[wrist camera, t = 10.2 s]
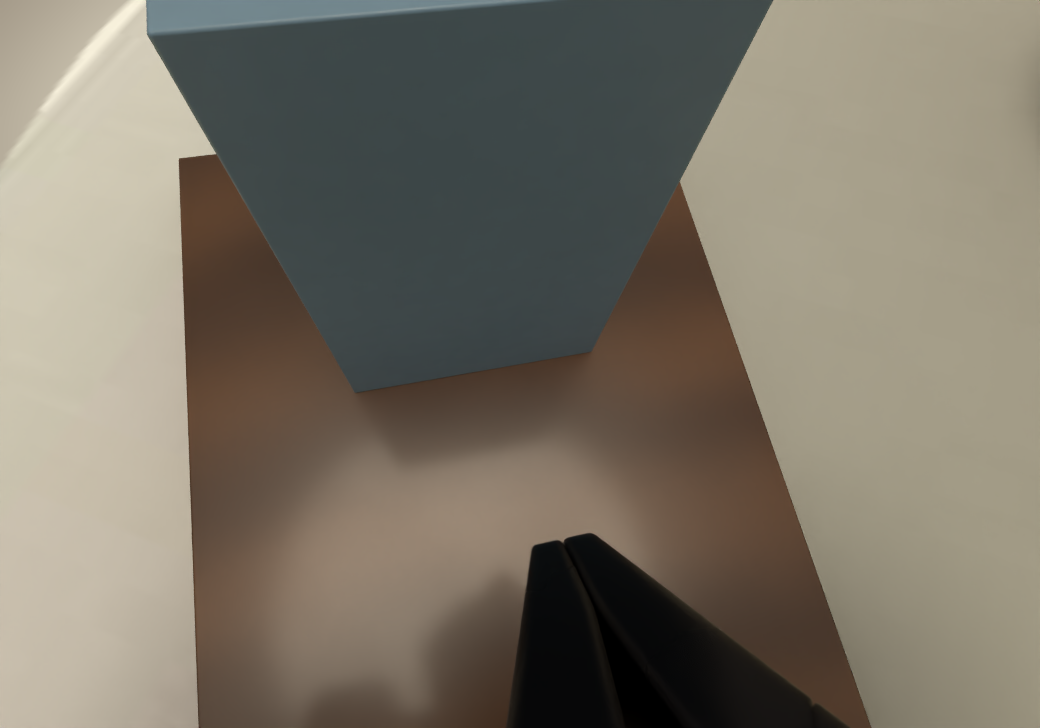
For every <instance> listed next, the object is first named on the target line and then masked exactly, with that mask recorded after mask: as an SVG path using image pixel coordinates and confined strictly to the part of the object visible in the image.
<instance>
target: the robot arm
mask: <svg viewBox="0 0 1040 728" xmlns="http://www.w3.org/2000/svg"><path fill="white" fill-rule="evenodd" d="M506 728H851V727H850V726H848V725H847V724H846V723H844V722H843V721H842V720H840V719H839V718H838V717H836V716H835V715H834V714H832V713H831V712H830V711H828V710H827V709H826V708H824V707H823V706H822V705H820V704H819V703H814V704H812V699H811V697H809V696H808V695H807V694H805V693H804V692H803V691H802V690H800V689H799V688H798V687H796V686H795V685H794V684H792V683H791V682H790V681H788V680H787V679H786V678H784V677H783V676H782V675H780V674H779V673H778V672H776V671H775V670H774V669H772V668H771V667H770V666H768V665H767V664H766V663H765V662H763V661H762V660H761V659H759V658H758V657H757V656H755V655H754V654H753V653H751V652H750V651H749V650H747V649H746V648H745V647H743V646H742V645H741V644H739V643H738V642H737V641H735V640H734V639H733V638H731V637H730V636H729V635H728V634H726V633H725V632H724V631H722V630H721V629H720V628H718V627H717V626H716V625H714V624H713V623H712V622H710V621H709V620H708V619H706V618H705V617H704V616H702V615H701V614H700V613H698V612H697V611H696V610H694V609H693V608H692V607H691V606H689V605H688V604H687V603H685V602H684V601H683V600H681V599H680V598H679V597H677V596H676V595H675V594H673V593H672V592H671V591H669V590H668V589H667V588H665V587H664V586H663V585H661V584H660V583H659V582H657V581H656V580H655V579H654V578H652V577H651V576H650V575H648V574H647V573H646V572H644V571H643V570H642V569H640V568H639V567H638V566H636V565H635V564H634V563H632V562H631V561H630V560H628V559H627V558H626V557H624V556H623V555H622V554H620V553H619V552H618V551H617V550H615V549H614V548H613V547H611V546H610V545H609V544H607V543H606V542H605V541H603V540H602V539H601V538H599V537H598V536H597V535H595V534H593V533H586V534H581V535H576V536H572V537H568V538H566V539H565V540H564V541H563V542H562V541H560V540H554V541H549V542H544V543H540V544H536V545H534V546H533V547H532V549H531V555H530V562H529V569H528V576H527V583H526V590H525V597H524V604H523V611H522V618H521V625H520V632H519V639H518V646H517V653H516V660H515V667H514V674H513V681H512V688H511V695H510V702H509V709H508V715H507V722H506Z"/></svg>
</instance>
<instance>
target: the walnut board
mask: <svg viewBox="0 0 1040 728" xmlns="http://www.w3.org/2000/svg"><path fill="white" fill-rule="evenodd" d="M179 179H180V208H181V236H182V265H183V294H184V322H185V351H186V379H187V408H188V436H189V465H190V493H191V522H192V550H193V579H194V607H195V636H196V664H197V693H198V721H199V728H506V722H507V715H508V709H509V702H510V695H511V688H512V681H513V674H514V667H515V660H516V653H517V646H518V639H519V632H520V625H521V618H522V611H523V604H524V597H525V590H526V583H527V576H528V569H529V562H530V555H531V549H532V547H533V546H534V545H536V544H540V543H544V542H549V541H554V540H560V541H562V542H563V541H564V540H565V539H566V538H568V537H572V536H576V535H581V534H586V533H593V534H595V535H597V536H598V537H599V538H601V539H602V540H603V541H605V542H606V543H607V544H609V545H610V546H611V547H613V548H614V549H615V550H617V551H618V552H619V553H620V554H622V555H623V556H624V557H626V558H627V559H628V560H630V561H631V562H632V563H634V564H635V565H636V566H638V567H639V568H640V569H642V570H643V571H644V572H646V573H647V574H648V575H650V576H651V577H652V578H654V579H655V580H656V581H657V582H659V583H660V584H661V585H663V586H664V587H665V588H667V589H668V590H669V591H671V592H672V593H673V594H675V595H676V596H677V597H679V598H680V599H681V600H683V601H684V602H685V603H687V604H688V605H689V606H691V607H692V608H693V609H694V610H696V611H697V612H698V613H700V614H701V615H702V616H704V617H705V618H706V619H708V620H709V621H710V622H712V623H713V624H714V625H716V626H717V627H718V628H720V629H721V630H722V631H724V632H725V633H726V634H728V635H729V636H730V637H731V638H733V639H734V640H735V641H737V642H738V643H739V644H741V645H742V646H743V647H745V648H746V649H747V650H749V651H750V652H751V653H753V654H754V655H755V656H757V657H758V658H759V659H761V660H762V661H763V662H765V663H766V664H767V665H768V666H770V667H771V668H772V669H774V670H775V671H776V672H778V673H779V674H780V675H782V676H783V677H784V678H786V679H787V680H788V681H790V682H791V683H792V684H794V685H795V686H796V687H798V688H799V689H800V690H802V691H803V692H804V693H805V694H807V695H808V696H809V697H811V699H812V704H814V703H819V704H820V705H822V706H823V707H824V708H826V709H827V710H828V711H830V712H831V713H832V714H834V715H835V716H836V717H838V718H839V719H840V720H842V721H843V722H844V723H846V724H847V725H848V726H850V727H851V728H871V725H870V723H869V720H868V717H867V714H866V711H865V708H864V706H863V703H862V700H861V697H860V694H859V691H858V688H857V686H856V683H855V680H854V677H853V674H852V671H851V669H850V666H849V663H848V660H847V657H846V654H845V651H844V649H843V646H842V643H841V640H840V637H839V634H838V632H837V629H836V626H835V623H834V620H833V617H832V614H831V612H830V609H829V606H828V603H827V600H826V597H825V594H824V592H823V589H822V586H821V583H820V580H819V577H818V575H817V572H816V569H815V566H814V563H813V560H812V557H811V555H810V552H809V549H808V546H807V543H806V540H805V538H804V535H803V532H802V529H801V526H800V523H799V520H798V518H797V515H796V512H795V509H794V506H793V503H792V500H791V498H790V495H789V492H788V489H787V486H786V483H785V481H784V478H783V475H782V472H781V469H780V466H779V463H778V461H777V458H776V455H775V452H774V449H773V446H772V444H771V441H770V438H769V435H768V432H767V429H766V426H765V424H764V421H763V418H762V415H761V412H760V409H759V407H758V404H757V401H756V398H755V395H754V392H753V389H752V387H751V384H750V381H749V378H748V375H747V372H746V369H745V367H744V364H743V361H742V358H741V355H740V352H739V350H738V347H737V344H736V341H735V338H734V335H733V332H732V330H731V327H730V324H729V321H728V318H727V315H726V313H725V310H724V307H723V304H722V301H721V298H720V295H719V293H718V290H717V287H716V284H715V281H714V278H713V275H712V273H711V270H710V267H709V264H708V261H707V258H706V256H705V253H704V250H703V247H702V244H701V241H700V238H699V236H698V233H697V230H696V227H695V224H694V221H693V219H692V216H691V213H690V210H689V207H688V204H687V201H686V199H685V196H684V193H683V190H682V187H681V184H680V182H679V183H678V185H677V187H676V189H675V191H674V193H673V195H672V197H671V199H670V201H669V203H668V205H667V206H666V208H665V210H664V212H663V214H662V216H661V218H660V220H659V222H658V224H657V226H656V228H655V230H654V232H653V234H652V235H651V237H650V239H649V241H648V243H647V245H646V247H645V249H644V251H643V253H642V255H641V257H640V259H639V261H638V263H637V264H636V266H635V268H634V270H633V272H632V274H631V276H630V278H629V280H628V282H627V284H626V286H625V288H624V290H623V292H622V293H621V295H620V297H619V299H618V301H617V303H616V305H615V307H614V309H613V311H612V313H611V315H610V317H609V319H608V321H607V323H606V324H605V326H604V328H603V330H602V332H601V334H600V336H599V338H598V340H597V342H596V344H595V346H594V348H593V350H592V351H591V352H587V353H581V354H575V355H570V356H564V357H558V358H552V359H547V360H541V361H535V362H529V363H524V364H518V365H512V366H506V367H501V368H495V369H489V370H483V371H478V372H472V373H466V374H460V375H455V376H449V377H443V378H438V379H432V380H426V381H420V382H415V383H409V384H403V385H397V386H392V387H386V388H380V389H374V390H369V391H363V392H357V393H355V392H354V391H353V389H352V387H351V385H350V384H349V382H348V380H347V378H346V377H345V375H344V373H343V372H342V370H341V368H340V366H339V365H338V363H337V361H336V359H335V358H334V356H333V354H332V353H331V351H330V349H329V347H328V346H327V344H326V342H325V340H324V339H323V337H322V335H321V334H320V332H319V330H318V328H317V327H316V325H315V323H314V321H313V320H312V318H311V316H310V315H309V313H308V311H307V309H306V308H305V306H304V304H303V303H302V301H301V299H300V297H299V296H298V294H297V292H296V290H295V289H294V287H293V285H292V284H291V282H290V280H289V278H288V277H287V275H286V273H285V271H284V270H283V268H282V266H281V265H280V263H279V261H278V259H277V258H276V256H275V254H274V252H273V251H272V249H271V247H270V246H269V244H268V242H267V240H266V239H265V237H264V235H263V233H262V232H261V230H260V228H259V227H258V225H257V223H256V221H255V220H254V218H253V216H252V214H251V213H250V211H249V209H248V208H247V206H246V204H245V202H244V201H243V199H242V197H241V195H240V194H239V192H238V190H237V189H236V187H235V185H234V183H233V182H232V180H231V178H230V176H229V175H228V173H227V171H226V170H225V168H224V166H223V164H222V163H221V161H220V159H219V158H218V156H217V154H214V155H205V156H197V157H188V158H180V159H179Z"/></svg>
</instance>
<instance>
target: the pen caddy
mask: <svg viewBox="0 0 1040 728" xmlns="http://www.w3.org/2000/svg"><path fill="white" fill-rule="evenodd" d="M772 1H773V0H146V7H147V35H148V37H149V38H150V40H151V42H152V44H153V45H154V47H155V49H156V50H157V52H158V54H159V56H160V57H161V59H162V61H163V63H164V64H165V66H166V68H167V69H168V71H169V73H170V75H171V76H172V78H173V80H174V82H175V83H176V85H177V87H178V88H179V90H180V92H181V94H182V95H183V97H184V99H185V101H186V102H187V104H188V106H189V107H190V109H191V111H192V113H193V114H194V116H195V118H196V120H197V121H198V123H199V125H200V126H201V128H202V130H203V132H204V133H205V135H206V137H207V139H208V140H209V142H210V144H211V145H212V147H213V149H214V151H215V152H216V154H217V156H218V158H219V159H220V161H221V163H222V164H223V166H224V168H225V170H226V171H227V173H228V175H229V176H230V178H231V180H232V182H233V183H234V185H235V187H236V189H237V190H238V192H239V194H240V195H241V197H242V199H243V201H244V202H245V204H246V206H247V208H248V209H249V211H250V213H251V214H252V216H253V218H254V220H255V221H256V223H257V225H258V227H259V228H260V230H261V232H262V233H263V235H264V237H265V239H266V240H267V242H268V244H269V246H270V247H271V249H272V251H273V252H274V254H275V256H276V258H277V259H278V261H279V263H280V265H281V266H282V268H283V270H284V271H285V273H286V275H287V277H288V278H289V280H290V282H291V284H292V285H293V287H294V289H295V290H296V292H297V294H298V296H299V297H300V299H301V301H302V303H303V304H304V306H305V308H306V309H307V311H308V313H309V315H310V316H311V318H312V320H313V321H314V323H315V325H316V327H317V328H318V330H319V332H320V334H321V335H322V337H323V339H324V340H325V342H326V344H327V346H328V347H329V349H330V351H331V353H332V354H333V356H334V358H335V359H336V361H337V363H338V365H339V366H340V368H341V370H342V372H343V373H344V375H345V377H346V378H347V380H348V382H349V384H350V385H351V387H352V389H353V391H354V392H355V393H357V392H363V391H369V390H374V389H380V388H386V387H392V386H397V385H403V384H409V383H415V382H420V381H426V380H432V379H438V378H443V377H449V376H455V375H460V374H466V373H472V372H478V371H483V370H489V369H495V368H501V367H506V366H512V365H518V364H524V363H529V362H535V361H541V360H547V359H552V358H558V357H564V356H570V355H575V354H581V353H587V352H591V351H592V350H593V348H594V346H595V344H596V342H597V340H598V338H599V336H600V334H601V332H602V330H603V328H604V326H605V324H606V323H607V321H608V319H609V317H610V315H611V313H612V311H613V309H614V307H615V305H616V303H617V301H618V299H619V297H620V295H621V293H622V292H623V290H624V288H625V286H626V284H627V282H628V280H629V278H630V276H631V274H632V272H633V270H634V268H635V266H636V264H637V263H638V261H639V259H640V257H641V255H642V253H643V251H644V249H645V247H646V245H647V243H648V241H649V239H650V237H651V235H652V234H653V232H654V230H655V228H656V226H657V224H658V222H659V220H660V218H661V216H662V214H663V212H664V210H665V208H666V206H667V205H668V203H669V201H670V199H671V197H672V195H673V193H674V191H675V189H676V187H677V185H678V183H679V181H680V179H681V177H682V176H683V174H684V172H685V170H686V168H687V166H688V164H689V162H690V160H691V158H692V156H693V154H694V152H695V150H696V148H697V147H698V145H699V143H700V141H701V139H702V137H703V135H704V133H705V131H706V129H707V127H708V125H709V123H710V121H711V119H712V117H713V116H714V114H715V112H716V110H717V108H718V106H719V104H720V102H721V100H722V98H723V96H724V94H725V92H726V90H727V88H728V87H729V85H730V83H731V81H732V79H733V77H734V75H735V73H736V71H737V69H738V67H739V65H740V63H741V61H742V59H743V58H744V56H745V54H746V52H747V50H748V48H749V46H750V44H751V42H752V40H753V38H754V36H755V34H756V32H757V30H758V29H759V27H760V25H761V23H762V21H763V19H764V17H765V15H766V13H767V11H768V9H769V7H770V5H771V3H772Z"/></svg>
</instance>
